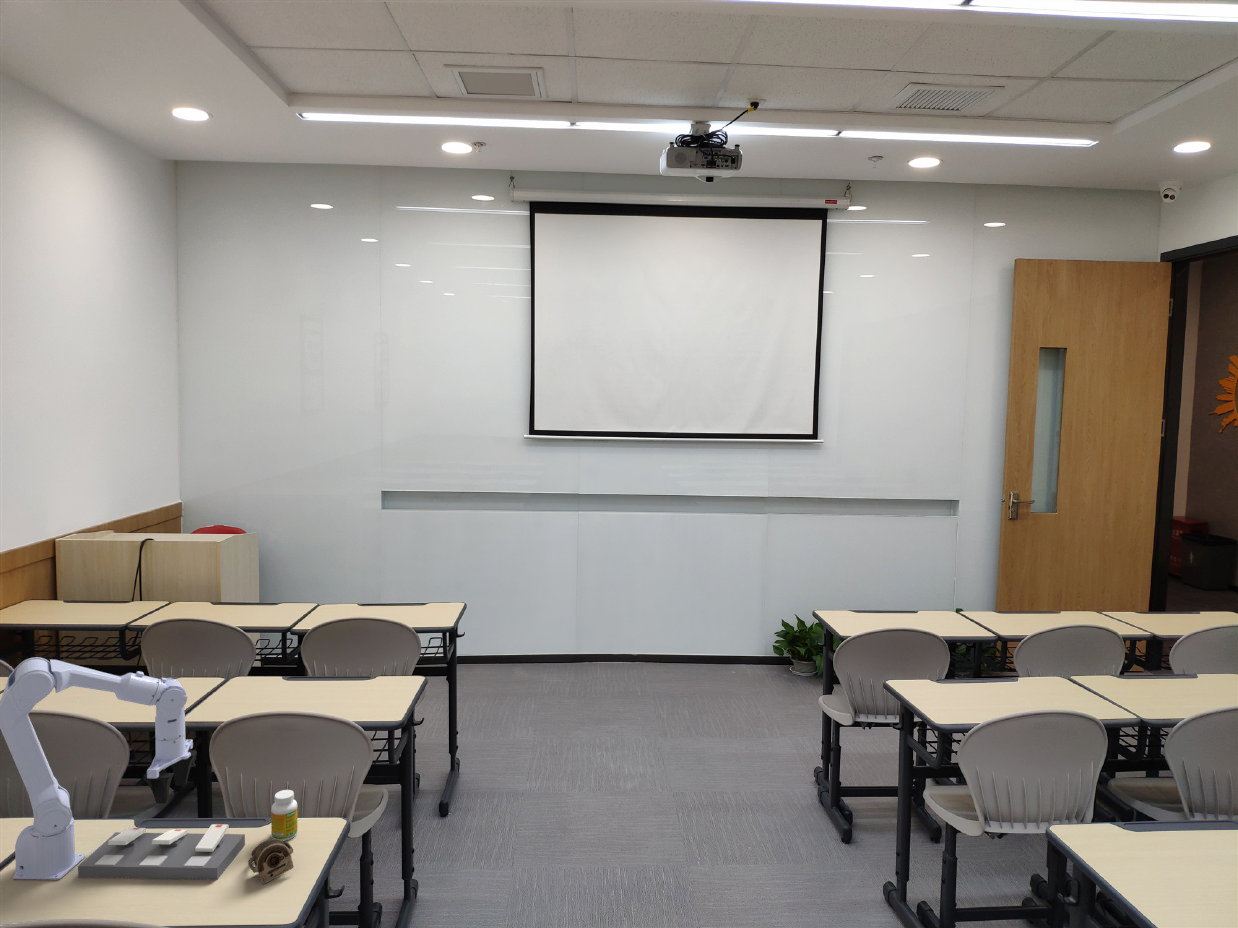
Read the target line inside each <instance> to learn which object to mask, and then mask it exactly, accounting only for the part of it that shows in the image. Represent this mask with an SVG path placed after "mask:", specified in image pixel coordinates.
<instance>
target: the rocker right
mask: <svg viewBox="0 0 1238 928" xmlns="http://www.w3.org/2000/svg"><path fill="white" fill-rule="evenodd" d="M229 826H230V825H229V824H225V823H224V824H222V823H220V824H219V823H215V824H213V823H212V824H211V825H210V826H209V828H208V829H207V830H206V832H205V833H204V834H205V835H204V836H203V838H202V839H201V840H200V842H199V843H198V845H197V846H196V848H195V851H202V852H213V851H214V849H215V848H216V846H217V845H218V843H219V842H220V840H221V839H222V837H223V836H224V834H227V831H228V829H229V828H230V827H229Z"/></svg>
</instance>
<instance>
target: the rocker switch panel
mask: <svg viewBox="0 0 1238 928" xmlns="http://www.w3.org/2000/svg"><path fill="white" fill-rule="evenodd" d="M120 833H122V831H121V832H114V833H113V834H112V835H111V836H110V837H109V838H108V839H106V841H105V842H103V843H102V844H101V845H100V846H99V847H97V848H96V849H95V850H94V851H93V852H92V853H91V854H89V856H88V857H85V858H84V860H83V861H81V863H80V864H79V865H78V866H77V875H78V877H77V878H78V879H79V878H80V879H141V880H142V879H143V880H144V879H145V880H146V879H148V880H150V879H151V880H217V881H218V880H219V879H220V877H221V876H222V874H223V873H224V872H225V871H226V869H227V868H228V867H229V866H230V865H231V863H232V862H233V861H234V859H236V857H237V856H238V854H239V853H240V852H241V851H242V849H243V848H244V847H245V845H246V834H244V833H242V834H241V833H239V834H238V833H236V834H235V833H225V834H224V836H223V837H222V839H221V840H220V842H219V843H218V845H217V846H216V848H215V849H214V851H213V852H202V851H195V848H196V846H197V845H198V843H199V842H200V840H201V839H202V838H203V836H204V835H205V833H188V832H187V834H186V835H184V836H182V837H181V838H179V839H178V840H177V841H174V842H172V843H171V844H152V840H153V839H155V838H157V837H159V836H160V835H162V834H164V833H165V832H144V833H143V834H141V835H140V836H138V837H137V838H135V840H132V841H131V842H129V843H128V844H126V845H108V841H109V840H111V839H112V838H114V837H115V836H117V835H118V834H120Z"/></svg>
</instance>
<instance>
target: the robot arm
mask: <svg viewBox="0 0 1238 928" xmlns="http://www.w3.org/2000/svg"><path fill="white" fill-rule="evenodd" d="M71 687H77V688H84V689H91V690H97V691H103V692H111V693H113V694H115V696H116V698H117V700H119V701H124V702H128V703H135V704H140V705H143V706H149V707H150V706H155V717H154V723H155V725H154V726H155V727H154V728H155V732H154V733H155V736H154V737H155V756H154V758H153V760H152V762H151V764H150V766H149V767H148V768H147V770H146V773H145V774H144V775H143V780H144V782H145V783H146V784H147V785H148V786H149V788H150V789H151V792H152V795H153V798H154V800H155V803H156V804H167V803H168V801H169V795H170V786H171V782H172V779H174V785H175V786H182V787H183V786H184V787H185V786H186V785H187V783H188V779H189V775H190V770H191V767H192V764H193V763H194V760H195V759H196V756H197V752H198V751H197V750H192V749H193V747H194V742H193V741H194V740H193V739H186V714H185V713H186V712H185V705H186V703H187V701H188V696H187V693H186V691H185V689H184V687H183V686H182V684H181V682H180V681H179V680H177V679H174V678H172V677H160V678H156V677H153V676H147V675H145V674H144V672H143V671H139V670H138V671H136V673H133V672H127V673H125V674H122V675H121V676H119V675H116V674H112V673H107V672H103V671H99V670H96V669H92V668H89V667H84V666H80V665H77V664H73V663H69V662H66V661H63V660H58V659H49V660H48V659H46V658H44V657H37V656H36V657H34V656H33V657H30V658H26V659H24V660H23V661H21V662H20V663H19V664H18V665H17V666H16V667H15V668H14V669H13V671H12V672H11V673H10V674H9V676H8V678H7V680H6V684H5V687H4V690H3V693H2V696H1V698H0V731H1V734H2V736H3V738H4V740H5V742H6V746H7V747H8V750H9V752H10V754H11V757H12V760H13V762H14V763H15V767H16V768H17V771H18V773H19V775H20V778H21V780H22V782H23V784H24V787H25V789H26V792H27V794H28V797H29V801H30V805H31V808H32V812H33V822H32V823H33V824H31V825H28V826H26V827H25V828H24V829H22V831H20V833H19V835H18V836H17V838H16V842H15V846H14V854H15V859H14V860H15V874H14V875H13V876H12V878H13V880H54V881H55V880H61V879H62V878H63V877H64V876H65V875H67V874H68V873H69V872H70V871H71V870H72V869H73V868H74V867H75V866H77V865H78V864H79V863H80V862H82V860H83V859H86V854H84V853H83V854H81V853H76V847H75V845H76V841H75V818H74V817H73V811H72V809H71V803H70V798H71V797H70V793H69V791H68V790H67V789H66V788H64V787H63V786H61V785H60V784H59V782H58V779H57V778H56V777H55V776H54V773H53V771H52V768H51V767H50V764H49V761H48V759H47V757H46V755H45V752H44V749H43V748H42V744H41V742H40V740H39V739H38V738H39V737H38V736H37V733H36V730H35V728H34V726H33V724H32V720H31V718H30V716H29V714H30V713H31V711H32V710H33V709H34V707H35V706H36V705H38V703H40V702H42V701H43V700H44V699H45V698H47V697H48V696H49V695H50V694H51V692H52V691H53V690H54V689H55V694H57V693H60V692H63V691H65V690H66V689H67V690H68V689H69V688H71ZM170 766H172V767H171V768H172V771H173V772H167V771H166V770H165V769H166V768H168V767H170Z"/></svg>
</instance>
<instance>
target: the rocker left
mask: <svg viewBox="0 0 1238 928" xmlns="http://www.w3.org/2000/svg"><path fill="white" fill-rule="evenodd" d="M146 829H147V828H146V827H128V828H127V829H124V831H121V833H120V834H118V835H117V836H115V837H114V838H112V839H111V840H109V841H108V845H126V844H128V843H129V842H131V841H132V840H135V838H137V837H138V836H140V835H141V834H143V833H147V832H146Z"/></svg>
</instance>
